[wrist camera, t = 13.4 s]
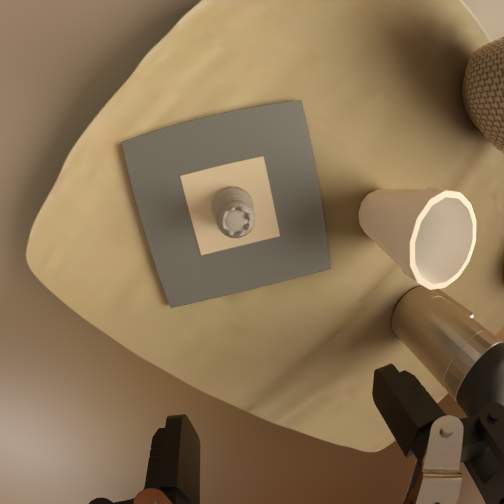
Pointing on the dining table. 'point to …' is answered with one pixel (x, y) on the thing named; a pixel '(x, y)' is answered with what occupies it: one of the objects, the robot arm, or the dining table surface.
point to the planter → (486, 91)
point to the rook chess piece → (233, 211)
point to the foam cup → (422, 231)
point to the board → (221, 176)
